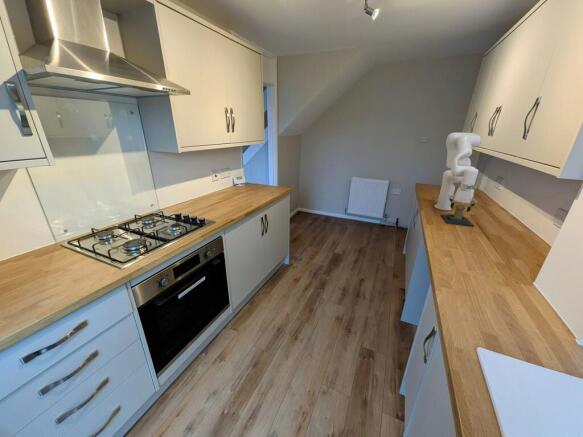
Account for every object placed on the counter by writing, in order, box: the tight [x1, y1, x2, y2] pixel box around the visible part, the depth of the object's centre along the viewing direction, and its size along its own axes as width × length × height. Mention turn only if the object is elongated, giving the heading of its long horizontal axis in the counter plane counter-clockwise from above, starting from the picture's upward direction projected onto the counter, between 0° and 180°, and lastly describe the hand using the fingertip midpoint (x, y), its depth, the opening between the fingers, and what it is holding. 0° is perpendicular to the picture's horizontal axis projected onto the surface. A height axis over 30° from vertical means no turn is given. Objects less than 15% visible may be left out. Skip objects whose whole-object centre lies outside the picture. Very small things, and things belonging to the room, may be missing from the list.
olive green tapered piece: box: [452, 204, 466, 219], centre depth 169 cm, size 6×6×11 cm
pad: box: [440, 213, 474, 228], centre depth 171 cm, size 16×16×3 cm
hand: (459, 209), depth 168 cm, fingers open, 9 cm apart
